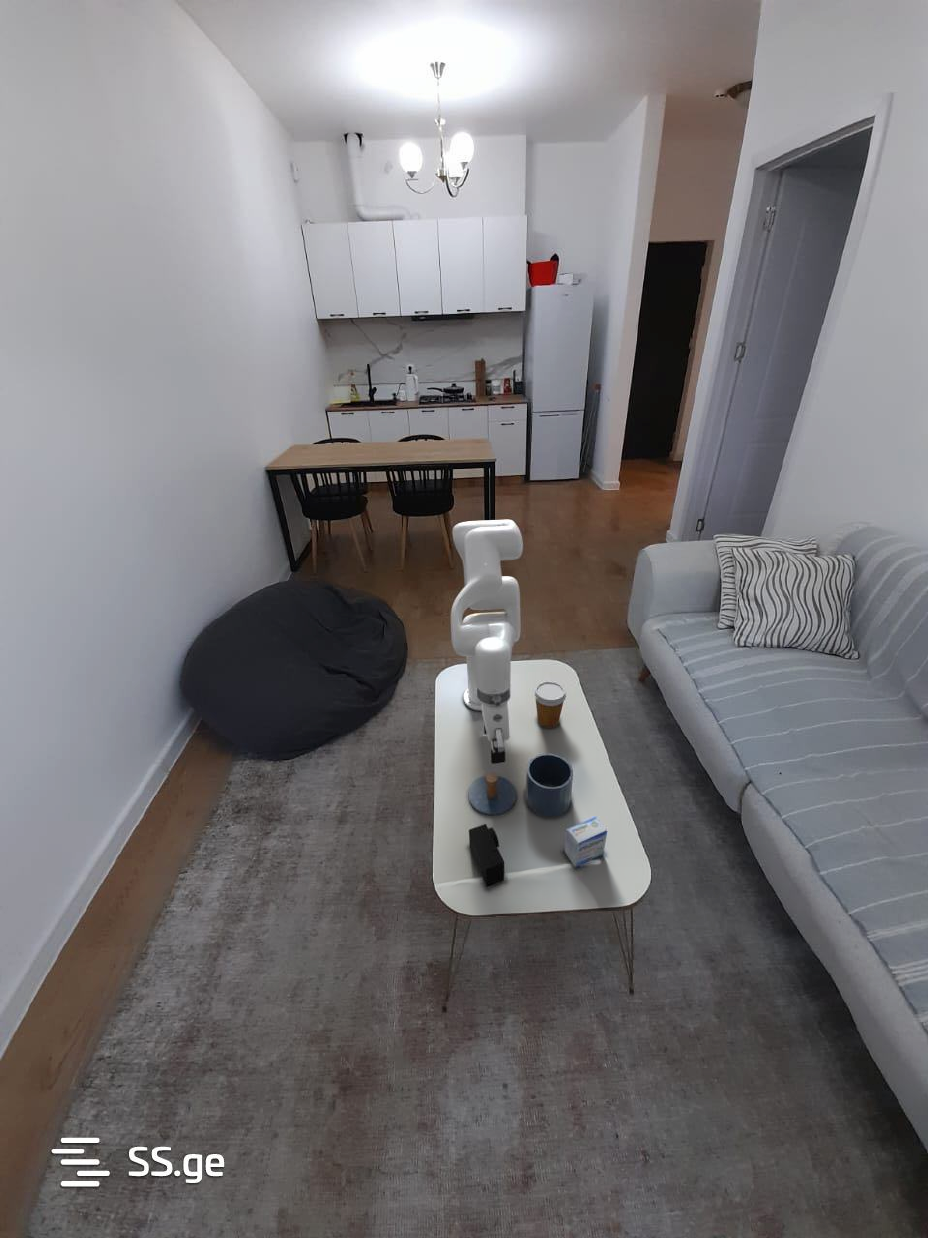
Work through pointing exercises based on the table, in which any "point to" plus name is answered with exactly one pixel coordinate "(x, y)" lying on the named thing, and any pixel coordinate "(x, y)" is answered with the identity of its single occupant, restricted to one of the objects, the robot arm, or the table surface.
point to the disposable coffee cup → (549, 703)
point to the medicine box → (585, 841)
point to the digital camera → (487, 854)
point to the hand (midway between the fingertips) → (494, 747)
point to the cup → (549, 798)
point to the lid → (492, 795)
